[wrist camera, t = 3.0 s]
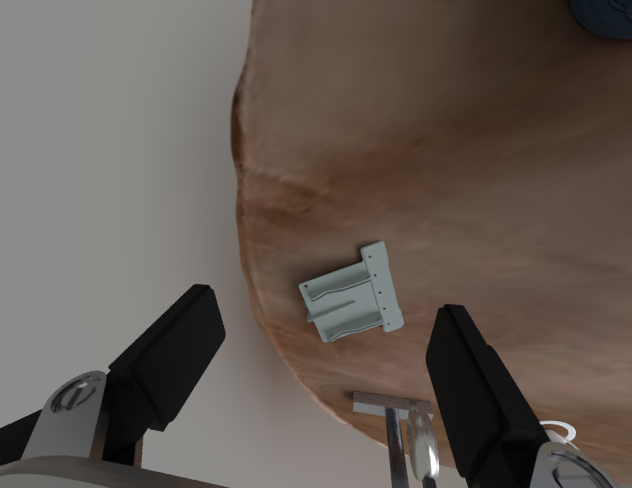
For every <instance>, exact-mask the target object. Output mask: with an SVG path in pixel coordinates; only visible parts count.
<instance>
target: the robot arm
mask: <svg viewBox="0 0 632 488" xmlns="http://www.w3.org/2000/svg"><path fill="white" fill-rule="evenodd" d="M225 335H226V333H225V329H224V325H223V321H222V318H221V314H220V311H219V308H218V304H217V300H216V297H215V293H214V290H213V289H211V287H210V286H209V285H202V284H195V285H193V286H192V287H191V288H190V289H189V290H188V291H186V293H184V294H183V295H182V296H181V297H180V298H179V299H178V300H177V301H176V302H175V303H174V304H173V305H172V306H171V307H170V308H169V309H168V310H167V311H166V312H165V313H164V314H163V315H161V317H159V318H158V319H157V320H156V321H155V322H154V323H153V324H152V325H151V326H150V327H149V328H148V329H147V330H146V331H145V332H144V333H143V334H142V335H141V336H140V337H139V338H138V339H136V340H135V342H133V343H132V344H131V345H130V346H129V347H128V348H127V349H126V350H125V351H124V352H123V353H122V354H121V355H120V356H119V357H118V358H117V359H116V360H115V361H114V362H113V363H112V364H110V365H109V366H108V367H109V369H110V370H111V371H110V372H109V373H108V374H107V375H106V374H105V373H104V372H101V371H91V372H87V373H84V374H81V375H79V376H77V377H75V378H73V379H72V380H70V381H68V382H67V383H65V384H64V385H62V386H61V387H60V388H59V389H58V390H57V391H55V393H53V394H52V396H51V397H50V398H49V399H48V400H47V402H46V404H45V405H44V407H43V409H41V410H39V411H37V412H35V413H32V414H30V415H28V416H26V417H24V418H21V419H19V420H17V421H15V422H13V423H11V424H8V425H6V426H4V427H2V428H0V488H229V487H224V486H220V485H215V484H211V483H206V482H202V481H197V480H192V479H188V478H183V477H179V476H174V475H170V474H165V473H161V472H156V471H151V470H147V469H142V468H141V462H142V447H143V435H144V433H145V432H146V430H147V429H148V428H149V429H151V430H157V431H162V432H163V431H164V430H165V428H166V427H167V425H168V423H169V422H172V421H173V420H174V419H175V418H176V416H177V415H178V413H179V411H180V410H181V408H182V406H183V405H184V403H185V402H186V400H187V399H188V397H189V395H190V394H191V392H192V391H193V389H194V387H195V386H196V384H197V383H198V381H199V379H200V378H201V376H202V375H203V373H204V371H205V370H206V368H207V366H208V365H209V363H210V362H211V360H212V358H213V357H214V355H215V354H216V352H217V351H218V349H219V347H220V346H221V344H222V343H223V341H224V339H225ZM426 365H427V368H428V372H429V375H430V379H431V382H432V385H433V389H434V392H435V396H436V399H437V402H438V406H439V409H440V413H441V416H442V419H443V423H444V426H445V430H446V433H447V437H448V440H449V443H450V447H451V450H452V454H453V457H454V460H455V464H456V467H457V470H458V472H459V475H460V476H461V477H463V478H465V479H466V482H467V485H468V488H620V486H619V485H618V484H617V483H616V481H615V480H614V479H613V478H612V477H611V476H610V475H609V474H608V473H607V472H606V471H605V470H604V469H603V468H602V467H601V466H600V465H599V464H598V463H596V462H595V461H594V460H592V459H591V458H590V457H588V456H587V455H586V454H584V453H582V452H581V451H579V450H577V449H575V448H573V447H572V446H569V445H566V444H563V443H560V442H552V441H551V440H550V438H549V436H548V435H547V433H546V432H545V430H544V428H543V427H542V425H541V424H540V422H539V420H538V419H537V417H536V415H535V414H534V412H533V411H532V409H531V407H530V406H529V404H528V403H527V401H526V399H525V398H524V396H523V395H522V393H521V391H520V390H519V388H518V386H517V385H516V383H515V382H514V380H513V378H512V377H511V375H510V374H509V372H508V370H507V369H506V367H505V366H504V364H503V362H502V361H501V359H500V357H499V356H498V354H497V353H496V351H495V350H494V349H493V347H491V346H490V345H487V344H486V342H485V340H484V339H483V337H482V335H481V334H480V332H479V330H478V329H477V327H476V325H475V324H474V322H473V320H472V319H471V317H470V315H469V314H468V312H467V310H466V309H465V307H464V306H462V305H452V304H445V305H444V307H443V308H439V309H438V313H437V316H436V320H435V323H434V327H433V331H432V334H431V338H430V342H429V345H428V349H427V352H426Z"/></svg>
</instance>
